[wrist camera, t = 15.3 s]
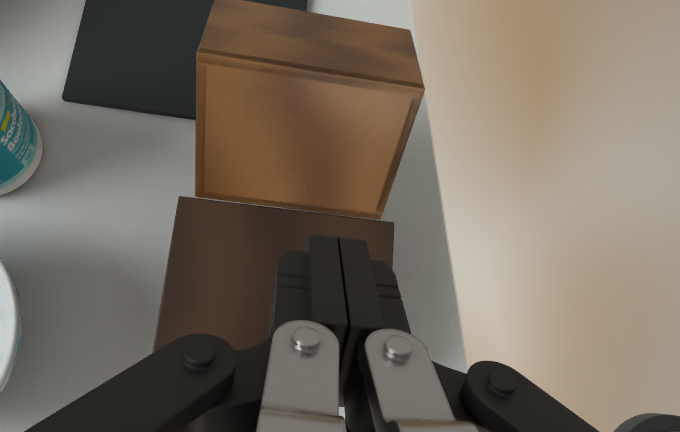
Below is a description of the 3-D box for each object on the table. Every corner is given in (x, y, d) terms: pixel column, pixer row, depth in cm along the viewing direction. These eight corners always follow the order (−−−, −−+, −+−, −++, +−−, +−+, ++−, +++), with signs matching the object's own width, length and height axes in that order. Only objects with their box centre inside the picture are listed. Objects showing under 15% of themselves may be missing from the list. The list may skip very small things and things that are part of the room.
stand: (367, 248, 44) (394, 222, 36) (359, 391, 41) (386, 396, 33) (189, 228, 42) (178, 195, 34) (165, 377, 39) (147, 378, 31)
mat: (315, -78, 52) (316, -82, 51) (292, 133, 45) (292, 130, 45) (117, -117, 49) (116, -123, 48) (63, 101, 43) (61, 97, 42)
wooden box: (380, 220, 36) (373, 154, 41) (425, 89, 29) (410, 29, 34) (195, 197, 34) (211, 131, 39) (196, 52, 27) (215, -5, 32)
